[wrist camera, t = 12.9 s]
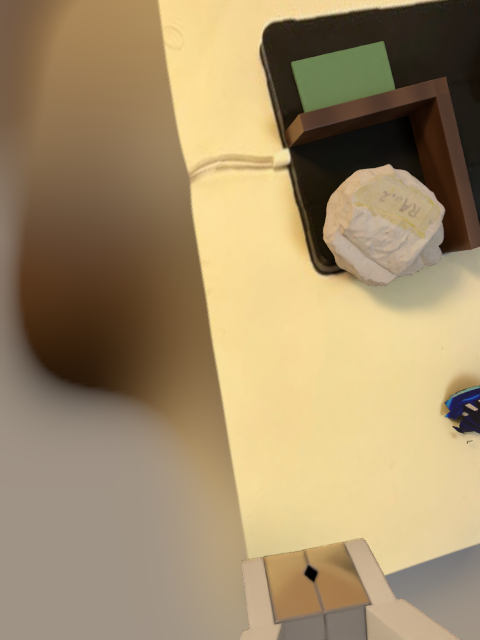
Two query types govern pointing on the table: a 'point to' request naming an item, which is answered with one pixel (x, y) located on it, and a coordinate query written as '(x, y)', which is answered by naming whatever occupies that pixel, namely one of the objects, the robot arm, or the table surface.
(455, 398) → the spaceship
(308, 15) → the table surface
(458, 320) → the table surface
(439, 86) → the corner stop
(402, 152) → the table surface
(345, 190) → the fossil replica
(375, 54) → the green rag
